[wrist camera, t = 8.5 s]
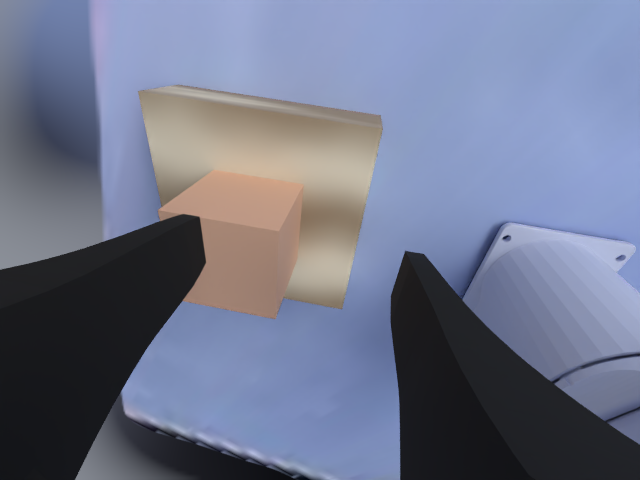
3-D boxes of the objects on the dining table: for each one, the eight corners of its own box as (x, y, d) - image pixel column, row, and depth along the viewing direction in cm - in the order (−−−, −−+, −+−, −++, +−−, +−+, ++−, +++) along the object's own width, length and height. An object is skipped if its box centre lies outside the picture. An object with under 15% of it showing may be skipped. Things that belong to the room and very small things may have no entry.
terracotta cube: (297, 259, 18) (275, 319, 14) (220, 245, 19) (177, 299, 14) (303, 184, 16) (278, 231, 11) (213, 169, 16) (157, 210, 12)
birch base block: (346, 272, 23) (342, 309, 20) (202, 246, 24) (176, 277, 21) (380, 113, 17) (382, 128, 14) (182, 83, 18) (138, 91, 14)
